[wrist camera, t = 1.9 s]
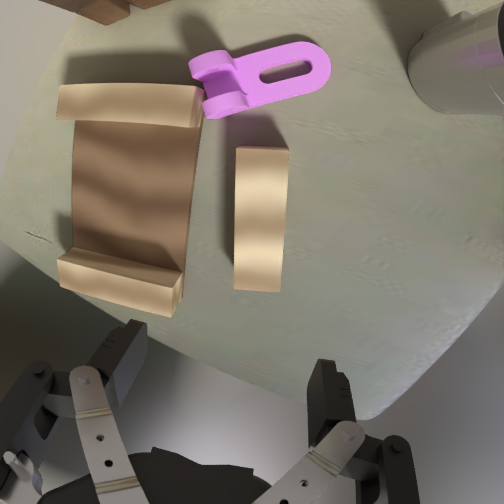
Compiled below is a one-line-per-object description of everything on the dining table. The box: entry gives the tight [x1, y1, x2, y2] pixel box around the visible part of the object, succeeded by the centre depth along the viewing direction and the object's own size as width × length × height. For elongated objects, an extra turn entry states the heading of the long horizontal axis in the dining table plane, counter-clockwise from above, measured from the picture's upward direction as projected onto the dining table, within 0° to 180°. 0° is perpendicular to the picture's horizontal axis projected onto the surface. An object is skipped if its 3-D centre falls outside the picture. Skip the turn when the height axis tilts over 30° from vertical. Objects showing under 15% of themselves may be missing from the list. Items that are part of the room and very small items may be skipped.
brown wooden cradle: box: [56, 83, 207, 317], centre depth 33 cm, size 25×16×5 cm, turn 170°
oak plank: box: [234, 146, 289, 292], centre depth 34 cm, size 15×5×4 cm, turn 178°
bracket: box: [188, 42, 331, 119], centre depth 26 cm, size 13×6×7 cm, turn 107°
